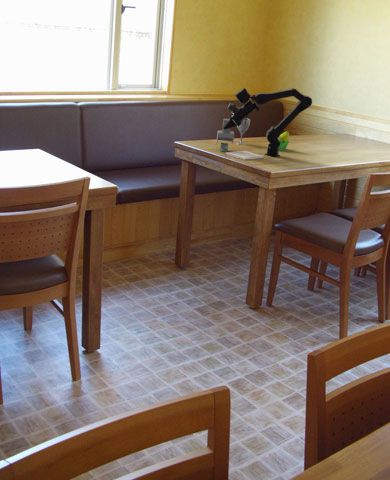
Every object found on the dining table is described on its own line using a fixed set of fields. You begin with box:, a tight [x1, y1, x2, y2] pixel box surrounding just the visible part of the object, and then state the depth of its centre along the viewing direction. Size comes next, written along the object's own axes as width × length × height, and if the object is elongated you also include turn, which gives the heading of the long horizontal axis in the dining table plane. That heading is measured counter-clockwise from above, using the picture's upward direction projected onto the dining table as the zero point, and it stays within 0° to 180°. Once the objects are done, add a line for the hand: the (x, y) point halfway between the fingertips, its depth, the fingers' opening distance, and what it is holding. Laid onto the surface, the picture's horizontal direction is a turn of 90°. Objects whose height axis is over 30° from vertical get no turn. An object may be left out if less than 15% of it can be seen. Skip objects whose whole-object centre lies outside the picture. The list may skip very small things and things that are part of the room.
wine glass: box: [234, 117, 251, 146], centre depth 368 cm, size 8×8×15 cm
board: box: [225, 150, 265, 161], centre depth 334 cm, size 16×14×1 cm
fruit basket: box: [278, 131, 290, 152], centre depth 363 cm, size 11×9×11 cm
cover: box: [216, 118, 235, 145], centre depth 340 cm, size 9×9×12 cm
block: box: [219, 142, 229, 153], centre depth 343 cm, size 4×4×4 cm
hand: (223, 128), depth 339 cm, fingers closed on cover, 4 cm apart
